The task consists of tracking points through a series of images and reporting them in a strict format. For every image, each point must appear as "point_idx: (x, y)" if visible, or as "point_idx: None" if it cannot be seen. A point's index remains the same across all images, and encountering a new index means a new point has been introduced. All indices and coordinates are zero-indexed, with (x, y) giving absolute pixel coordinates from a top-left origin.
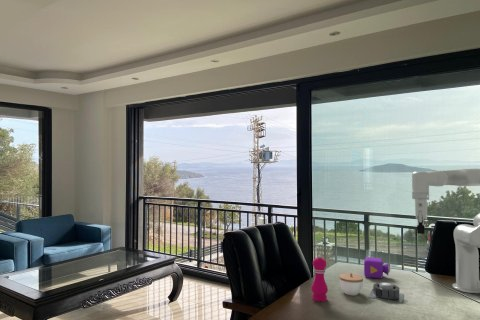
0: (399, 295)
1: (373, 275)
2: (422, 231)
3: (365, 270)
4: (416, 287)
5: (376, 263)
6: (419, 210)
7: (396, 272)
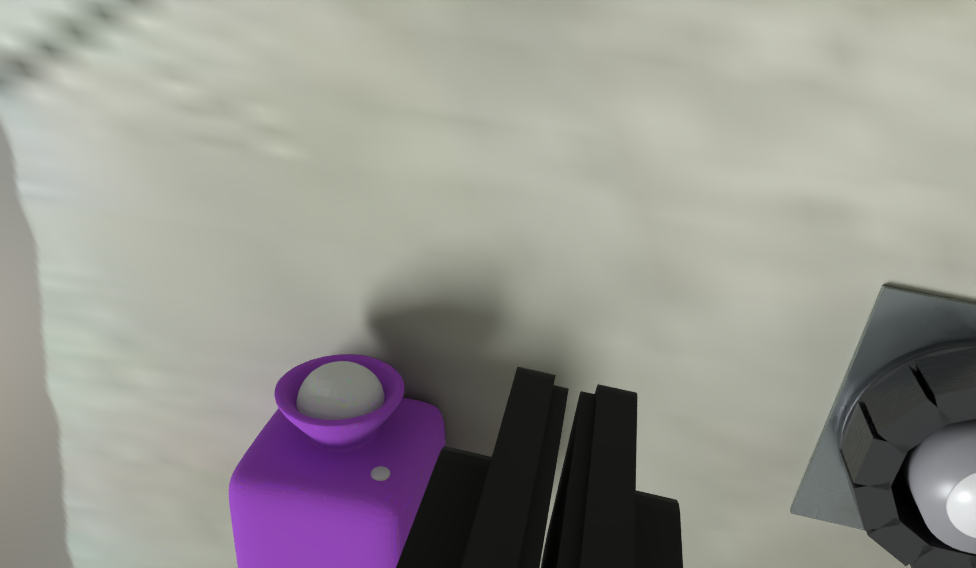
0: (939, 331)
1: None
2: (675, 504)
3: None
4: (595, 127)
5: None
6: None
7: (138, 243)
